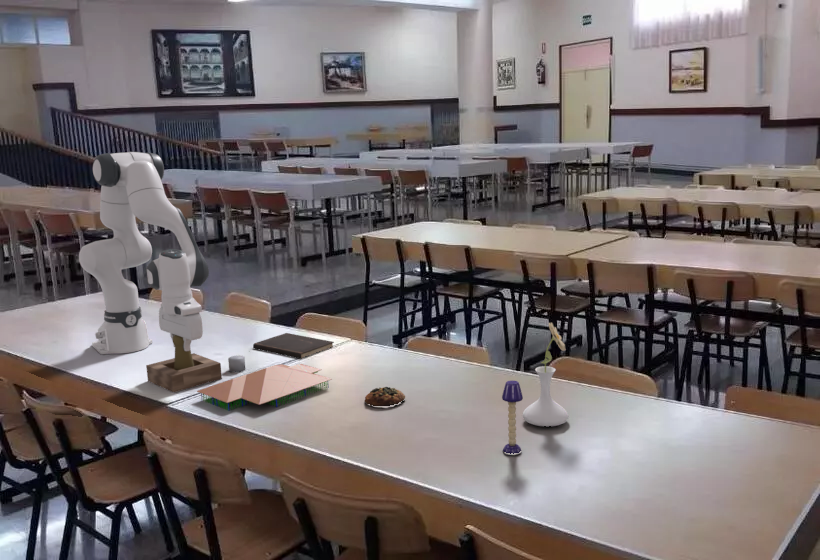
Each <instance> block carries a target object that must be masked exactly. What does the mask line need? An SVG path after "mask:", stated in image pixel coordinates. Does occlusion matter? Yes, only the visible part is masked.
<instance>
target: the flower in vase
mask: <svg viewBox="0 0 820 560" xmlns="http://www.w3.org/2000/svg"><path fill="white" fill-rule="evenodd" d="M548 328H549V331H550V332H551V335H552V337H551V339H550V341H549V343H548V344H547V347H546V349H545V350H546V351H545V353H544V354H545V357H544V360H543V361H541V362H540V364H544V366H543V365H542V366H538V367H536V368H535V372H536V374H537V376H538V377H539V381H540V382H539V383H540V395H539V398H538V399H537V400H535V401H534V402H533V403H531V404H529V405H528V406H527V407H526V408H525V409H524V410H523V413H522V415H521V416H522V418H523V420H524V421H525V422H526V423H529V424H531V425H534V426H538V427H544V426H546V427H547V428H548V427H549V426H551V427H556V426H557V427H558V426H559V425H563V424H565V423H566V422H567V421H568V419H569V418H570V417H569V414H568V411H567V410H566V409H565V408H564V407H563V406H562V405H560V404H559V403H557V402H556V401H555V399H553V398H552V396H551V383H552V382H551V381H552V377H553V376H554V373H555V372H556V370H557V369H556V368H555V367H552V366H547V364H548V363H549V362H551V361H552V359H553V357H552V355H551V352H550V351H549V349H550V346H551V345H552V342H553V341H554V342H555V343H556V345H558V348H559V349H560V350H561V351H563V352H564V351H566V350H567V349H566V344H565V343H564V341H563V340H562V339H563V338H562V336H561V335H560V334H559V333H558V329H557V327H556V326H554V323H553V322H548Z"/></svg>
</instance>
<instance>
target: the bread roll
mask: <svg viewBox="0 0 820 560" xmlns="http://www.w3.org/2000/svg"><path fill="white" fill-rule="evenodd" d="M404 399H406V395H405V394H404V393H403V392H402V391H401V390H399V389H397V388H396V387H388V386H383V387H376V388H373V389H372V390H370V391H369V393H368V394H366V395H365V399H364V403H365V402H366V403H367V404H370V405H373V406H390V405H394V404H398V403H399V402H401V401H403V400H404ZM404 401H405V400H404ZM366 403H365V404H366ZM367 404H366V405H367Z"/></svg>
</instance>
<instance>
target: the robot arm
mask: <svg viewBox="0 0 820 560" xmlns="http://www.w3.org/2000/svg"><path fill="white" fill-rule="evenodd" d="M92 173H93V178H94V180H95V182H96V183H97V184H99V186H101V188H100V202H99V204H100V205H99V207H100V208H99V219H100V221H101V223H102V225H103V226H104V227H106V228H108V229H110V230H112V231H113V237H112V238H107V239H100V240H95V241H92V242H90V243H87V244H85V245H83V246H82V247H81V248H80V250H79V254H78V261H79V262H78V263H79V264H80V266H81V268H82V269H83V270H84V271H85V272H87V274H89V275H92V276H93V277H94V278H95V280H96V281H97V282H98V283H99V285H100V287H101V290H102V294H103V301H104V307H105V308H104V309H105V310H104V314H103V317H104V318H103V320H104V321H103V323H102V324H101V325H100V326H99V328H98V329H97V331H96V332H95V334H94V335H95V339H97V340H95V341H93V342H92V343H91V346H92V347H93V348H94V349H95V350H96V351H97V352H98V354H100V355H109V354H111V355H112V354H128V353H133V352H138V351H142V350H144V349H146V348H148V347H149V345H151V344H153V339H152V338H149V332H148V327H147V323H146V321H145V320H144V319H142V317H143V316H142V309H141V306H140V301H139V292H138V291H139V290H138V286H137V285H136V284H135V283H134V282H133V281H130V280H128V279H125V277H124V276H123V275H124V274H123V273H122V270H126V269H129V268H135V267H138V266H141V265H143V264H145V263H148V262H149V261H150V260H151V258H152V255H153V254H152V253H153V248H152V245H151V242H150V241H149V239H148V238H146V236H144V235H143V234H142V233H141V232H140V230H139V229H138V225H137V221H136V218H137V219H138V220H139V221H141V222H143V223H145V224H149V225H152V226H153V225H154V226H158V227H161V228H163V229H166V230H168V231H170V232H171V233H173V234H174V235H175V238H176V239H177V241H178V243H179V246H180V249H174V248H173V249H172V248H171V249H165V250H162V251H161V252H159V255H158V258H156V259H154V260H151V261H150V262H149V263H148V264H147V266H146V268H145V274H146V282H147V285H148V286H149V287H150V288H152V289H153V290H156V291H158V290H159V291H161V297H160V298H161V304H160V308H159V310H158V325H159V329H160V330H161V331H163V332H166V333H168V334H169V335H170V339H171V341H172V342H173V337H174V335H177V336H180V337H183V340H184V345H182V346H183V350H184V351H190V350H191V343H192V341H196V340H199V339H202V337H203V334H204V333H203V331H204V330H203V317H202V315H201V313H202V310H203V309H202V305H201V304H200V303H199V302H197V300H196V298H194V297H193V291H192V289H191V287H193V288H194V287H201V286H202V285H203V284H205V282H206V281H207V280H208V278H209V276H210V269H209V265H208V262H207V261H206V259H205V257H204V255H203V254H202V252H201V250H200V248H199V246H198V244H197V241H196V240H195V237H194V235H193V232H192V231H191V229H190V225H189V224H188V221H187V220H186V218H185V216H184V214H183V212H182V211H181V209H180V208H178V207H177V206H174V205H173V204H172V203H171V202H170V200H169V199H168V197H167V195H166V191H165V188H164V185H163V182H162V180H163V178H164V175H165V166H164V161H163V159H162V158H161V157H160V156H159V155H158V154H156V153H153V152H139V151H127V152H116V153H115V152H114V153H109V152H107V153H101V154H98V155H97V156H96V157H95V158H94V160H93V163H92ZM173 347H174V348H175V345H174V344H173Z"/></svg>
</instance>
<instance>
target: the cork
mask: <svg viewBox="0 0 820 560" xmlns="http://www.w3.org/2000/svg"><path fill="white" fill-rule="evenodd" d="M172 344H173V346H174V345H175V347H174V358H175V362H174V370H176V371H178V370H182V369H186V368H189V367H193V366H194V363H193V358H192V354H193V353H192V351H191V349H190V351H184V350H183V346H182V345H184V340H183V337H180V336H177V335H174V337H173V341H172Z"/></svg>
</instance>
